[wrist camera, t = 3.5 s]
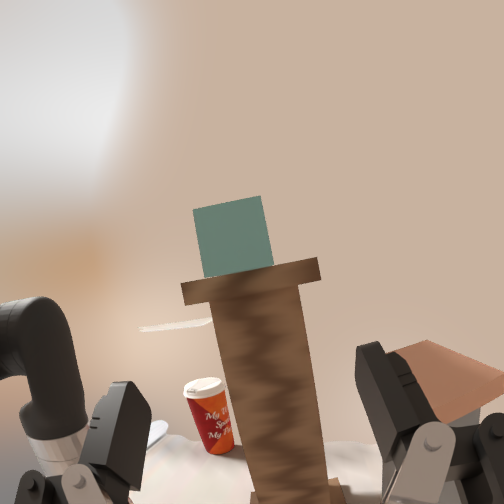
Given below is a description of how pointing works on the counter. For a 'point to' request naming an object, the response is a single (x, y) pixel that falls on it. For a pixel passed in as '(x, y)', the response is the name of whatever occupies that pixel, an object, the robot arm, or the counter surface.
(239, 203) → the bar
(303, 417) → the stand
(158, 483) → the counter surface
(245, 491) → the counter surface
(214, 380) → the paper cup
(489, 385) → the ledge
